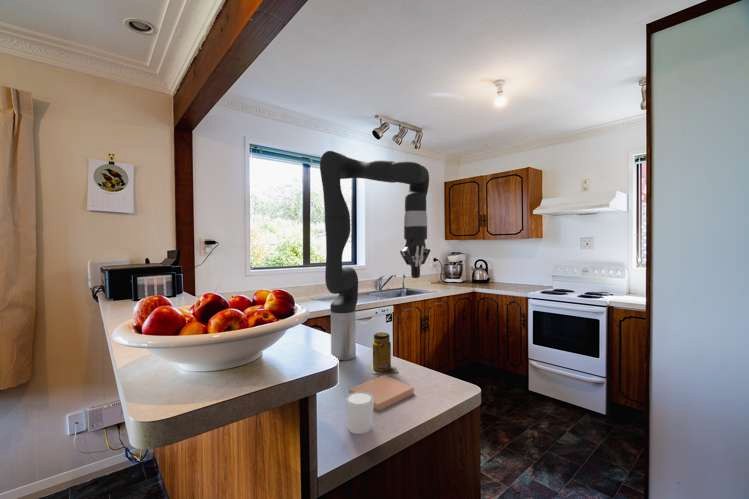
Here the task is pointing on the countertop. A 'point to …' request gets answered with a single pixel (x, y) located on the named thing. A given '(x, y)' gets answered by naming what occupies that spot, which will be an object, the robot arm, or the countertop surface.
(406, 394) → the tile
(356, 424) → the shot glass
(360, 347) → the countertop surface
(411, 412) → the countertop surface
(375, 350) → the condiment
